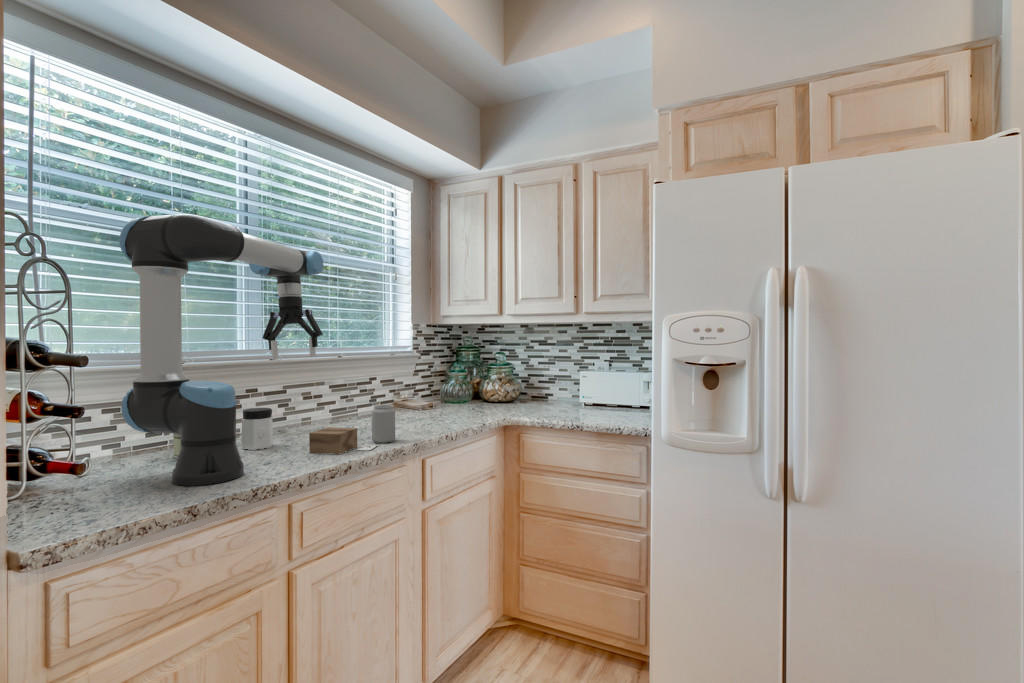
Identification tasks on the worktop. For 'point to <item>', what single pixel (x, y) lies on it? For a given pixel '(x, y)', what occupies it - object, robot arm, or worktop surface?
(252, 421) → the jar
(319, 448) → the walnut block
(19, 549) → the worktop surface
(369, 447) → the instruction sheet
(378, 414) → the can
